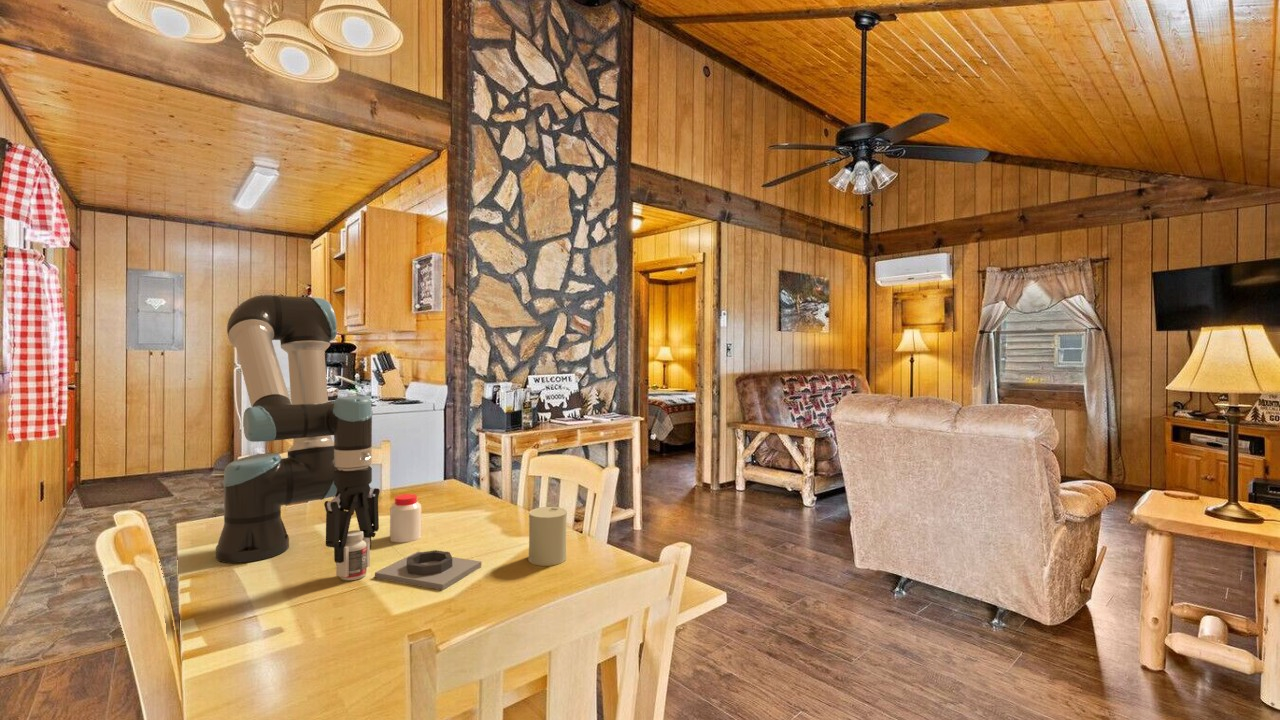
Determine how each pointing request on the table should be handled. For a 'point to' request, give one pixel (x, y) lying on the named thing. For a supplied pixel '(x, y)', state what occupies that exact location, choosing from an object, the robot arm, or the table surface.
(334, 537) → the robot arm
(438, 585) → the collar plate
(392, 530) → the pill bottle
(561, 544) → the can
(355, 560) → the pill bottle
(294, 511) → the table surface
